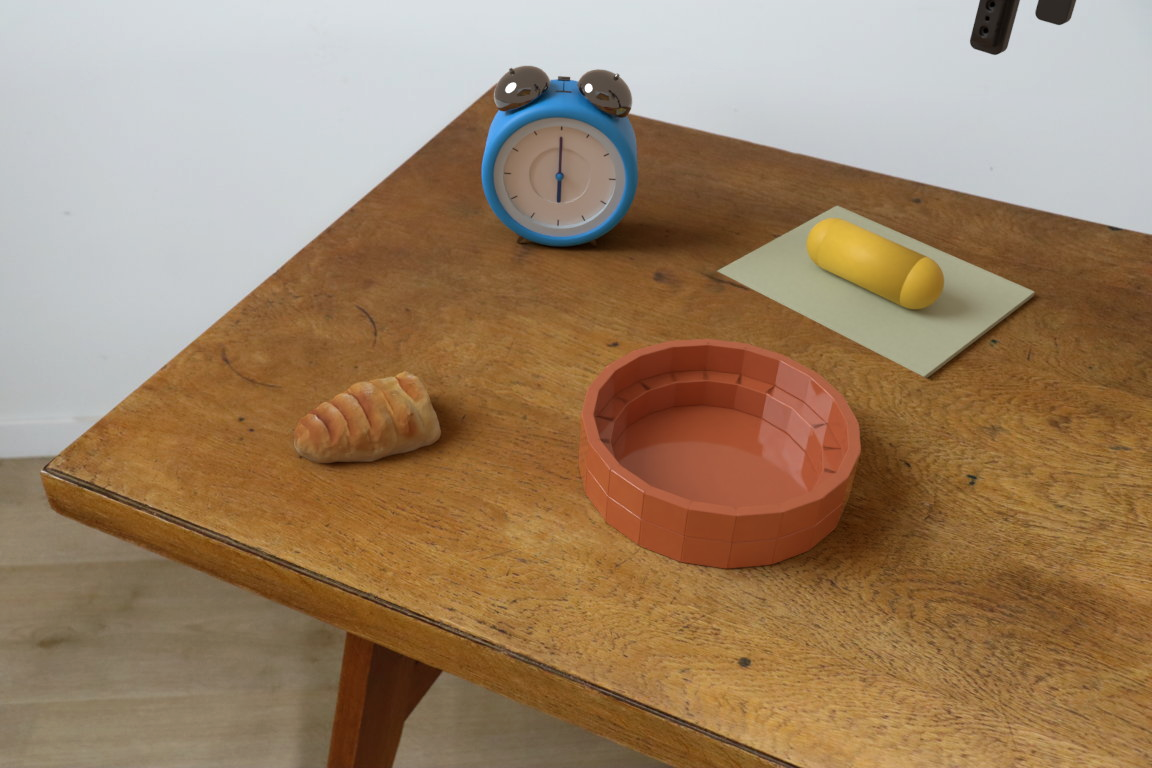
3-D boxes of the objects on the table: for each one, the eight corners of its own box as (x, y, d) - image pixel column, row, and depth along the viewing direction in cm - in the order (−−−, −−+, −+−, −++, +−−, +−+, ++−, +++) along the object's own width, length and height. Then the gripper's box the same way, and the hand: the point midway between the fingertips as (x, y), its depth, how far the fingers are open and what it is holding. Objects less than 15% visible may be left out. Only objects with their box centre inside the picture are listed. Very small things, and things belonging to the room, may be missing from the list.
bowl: (695, 365, 84) (702, 310, 81) (896, 482, 74) (913, 424, 71) (524, 470, 73) (525, 411, 70) (732, 621, 64) (744, 561, 61)
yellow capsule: (791, 264, 95) (801, 218, 92) (820, 249, 98) (831, 204, 95) (918, 325, 88) (933, 277, 86) (945, 307, 91) (960, 260, 88)
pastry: (315, 490, 71) (309, 445, 69) (281, 431, 76) (274, 386, 73) (449, 447, 75) (447, 402, 73) (409, 393, 79) (406, 349, 77)
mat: (836, 209, 105) (837, 205, 104) (1033, 296, 94) (1035, 291, 93) (700, 284, 93) (700, 279, 93) (907, 393, 82) (909, 388, 82)
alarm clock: (481, 246, 96) (480, 80, 87) (487, 212, 101) (487, 51, 92) (631, 254, 96) (646, 89, 87) (630, 219, 101) (644, 60, 92)
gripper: (1105, -229, 56) (1019, 80, 66) (1216, -252, 64) (1124, 26, 74) (972, -248, 60) (910, 45, 70) (1091, -267, 68) (1020, -2, 78)
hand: (1020, 35), depth 72 cm, fingers open, 8 cm apart
